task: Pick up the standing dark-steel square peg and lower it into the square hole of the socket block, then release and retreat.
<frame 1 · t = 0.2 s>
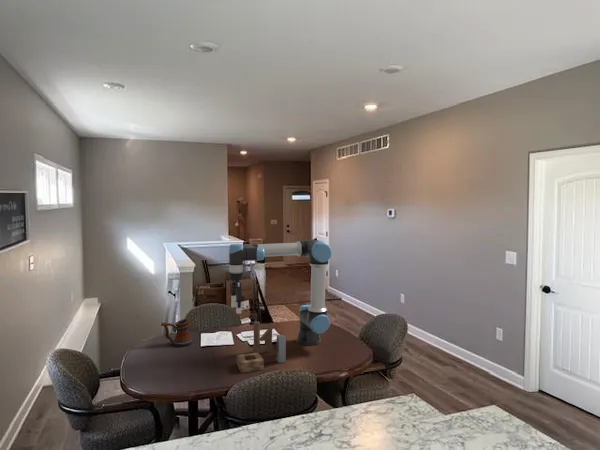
hand: (236, 310, 234), 28 cm above the table, fingers open, 13 cm apart
mug: (176, 344, 258), on the table
brown braced frame: (262, 352, 247), on the table
socket block: (250, 366, 225), on the table
peg: (281, 361, 233), on the table
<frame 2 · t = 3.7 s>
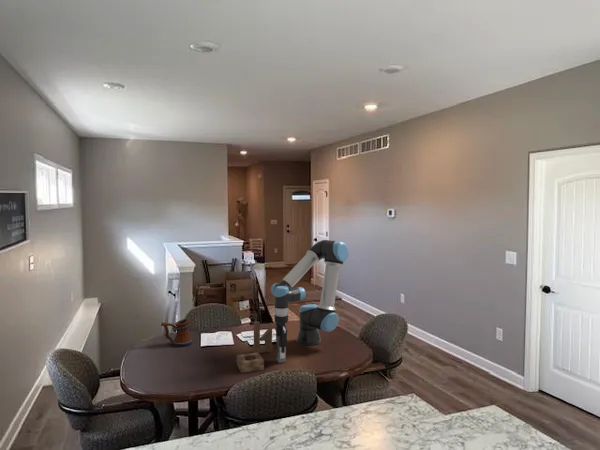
hand: (281, 356, 233), 3 cm above the table, fingers closed on peg, 4 cm apart
peg: (281, 361, 233), on the table, touching gripper
everything else where it was.
when the fingers open (7 cm above the table, at t = 8.7 s): peg drops 4 cm, resting in socket block.
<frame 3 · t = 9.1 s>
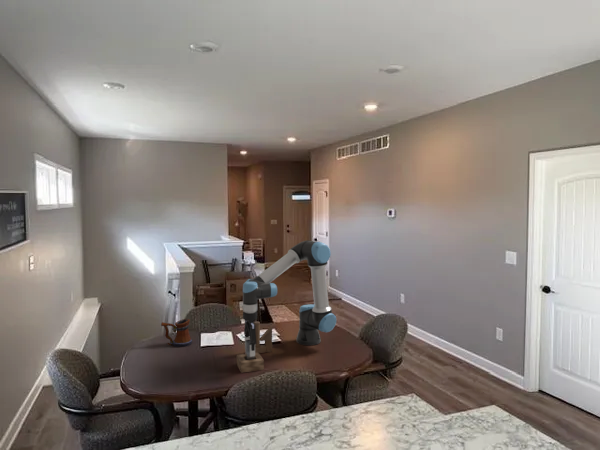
hand: (250, 352, 225), 8 cm above the table, fingers open, 10 cm apart
peg: (250, 366, 225), resting in socket block
everything else where it was.
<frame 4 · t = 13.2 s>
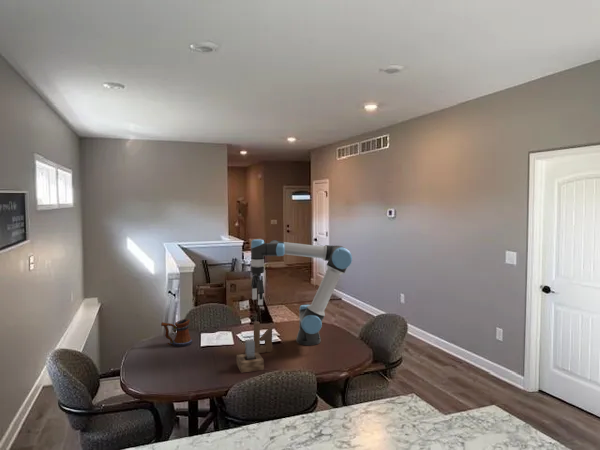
hand: (257, 302, 248), 29 cm above the table, fingers open, 13 cm apart
nothing on the table moved.
at the end: peg 0.0 cm off-centre on the socket block, point 0.0 cm above the socket block's base; peg tilted 0°; the gripper is holding nothing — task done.
